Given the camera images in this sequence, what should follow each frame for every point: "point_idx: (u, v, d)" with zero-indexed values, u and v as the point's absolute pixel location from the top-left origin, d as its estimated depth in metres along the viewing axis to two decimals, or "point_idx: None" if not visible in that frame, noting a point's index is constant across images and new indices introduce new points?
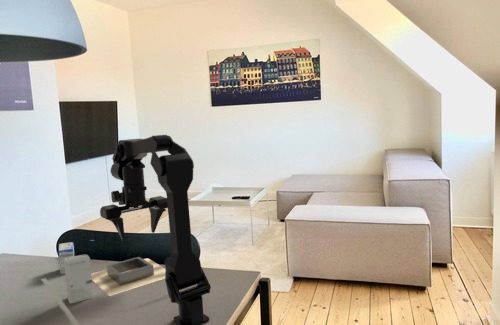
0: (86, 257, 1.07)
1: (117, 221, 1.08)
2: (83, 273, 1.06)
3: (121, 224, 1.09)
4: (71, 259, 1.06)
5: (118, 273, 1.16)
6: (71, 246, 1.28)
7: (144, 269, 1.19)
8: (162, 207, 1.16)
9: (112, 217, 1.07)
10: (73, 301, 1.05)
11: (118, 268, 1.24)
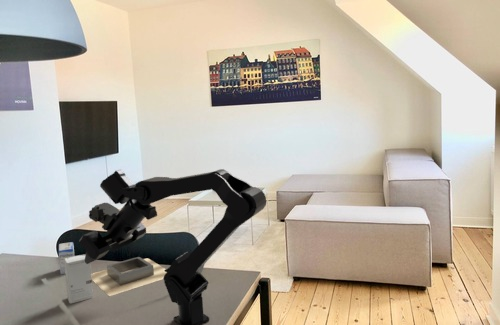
0: None
1: None
2: (83, 273, 1.06)
3: None
4: (71, 259, 1.06)
5: (118, 273, 1.16)
6: (71, 246, 1.28)
7: (144, 269, 1.19)
8: (138, 237, 1.06)
9: (99, 257, 0.93)
10: (73, 301, 1.05)
11: (118, 268, 1.24)
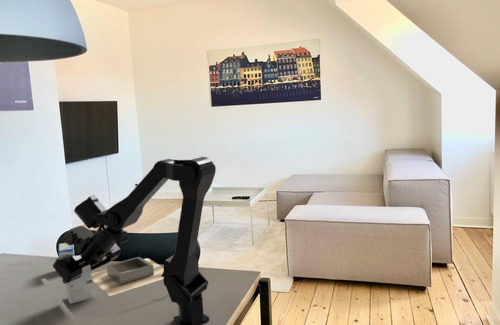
0: None
1: (75, 279, 1.00)
2: (83, 273, 1.06)
3: None
4: None
5: (118, 273, 1.16)
6: (71, 246, 1.28)
7: (144, 269, 1.19)
8: (113, 259, 1.11)
9: (71, 280, 0.97)
10: (73, 301, 1.05)
11: (118, 268, 1.24)
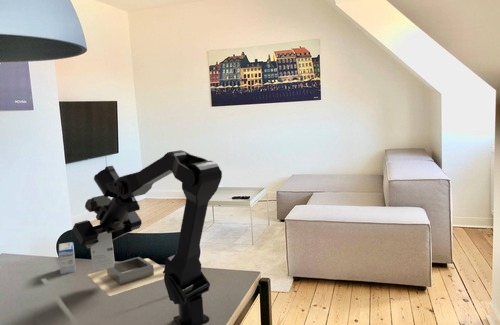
0: None
1: (92, 243, 1.06)
2: (104, 241, 1.12)
3: (94, 243, 1.08)
4: None
5: (118, 273, 1.16)
6: (71, 246, 1.28)
7: (144, 269, 1.19)
8: (133, 229, 1.15)
9: (87, 244, 1.04)
10: (95, 266, 1.12)
11: (118, 268, 1.24)
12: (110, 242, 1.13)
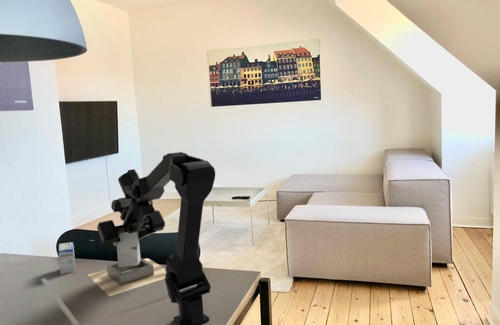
0: None
1: (115, 242, 1.13)
2: (128, 240, 1.18)
3: (117, 242, 1.14)
4: None
5: (118, 273, 1.16)
6: (71, 246, 1.28)
7: (144, 269, 1.19)
8: (157, 230, 1.19)
9: (108, 242, 1.10)
10: (121, 263, 1.19)
11: (118, 268, 1.24)
12: (134, 241, 1.19)
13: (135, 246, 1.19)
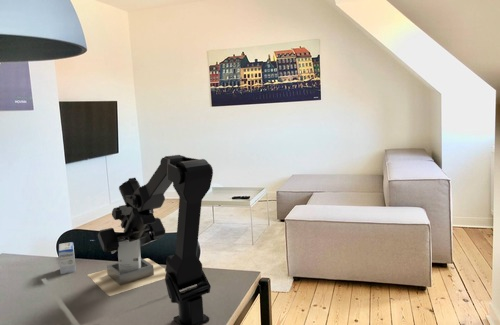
0: None
1: (112, 251, 1.12)
2: (130, 251, 1.19)
3: (115, 251, 1.14)
4: None
5: (118, 273, 1.16)
6: (71, 246, 1.28)
7: (144, 269, 1.19)
8: (157, 238, 1.20)
9: (109, 250, 1.11)
10: None
11: (118, 268, 1.24)
12: (136, 253, 1.19)
13: (137, 258, 1.19)
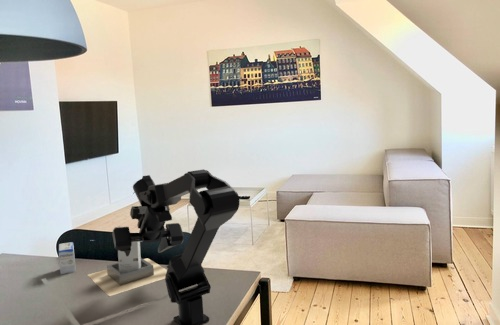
0: None
1: (124, 251, 1.06)
2: (130, 251, 1.19)
3: (128, 251, 1.08)
4: None
5: (118, 273, 1.16)
6: (71, 246, 1.28)
7: (144, 269, 1.19)
8: (174, 244, 1.12)
9: (120, 249, 1.04)
10: None
11: (118, 268, 1.24)
12: (136, 253, 1.19)
13: (137, 257, 1.19)
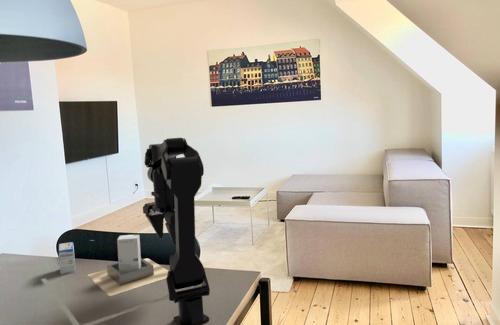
0: (135, 237, 1.19)
1: (147, 217, 1.17)
2: (130, 251, 1.19)
3: (150, 221, 1.17)
4: (123, 237, 1.20)
5: (118, 273, 1.16)
6: (71, 246, 1.28)
7: (144, 269, 1.19)
8: (167, 221, 1.06)
9: (144, 212, 1.18)
10: None
11: (118, 268, 1.24)
12: (136, 253, 1.19)
13: (136, 257, 1.19)
